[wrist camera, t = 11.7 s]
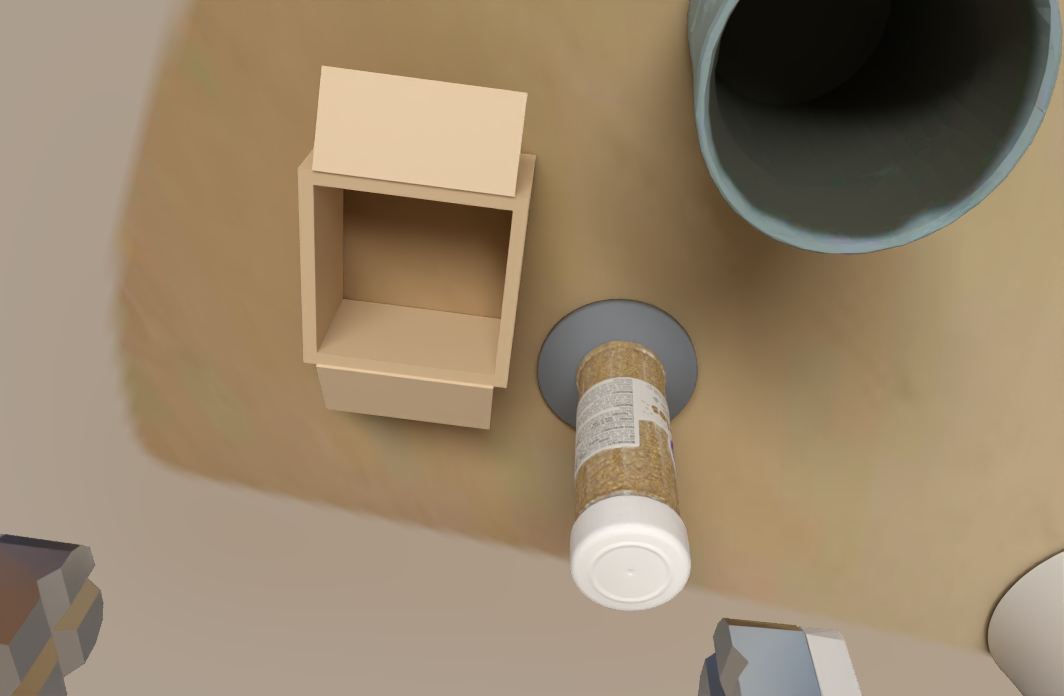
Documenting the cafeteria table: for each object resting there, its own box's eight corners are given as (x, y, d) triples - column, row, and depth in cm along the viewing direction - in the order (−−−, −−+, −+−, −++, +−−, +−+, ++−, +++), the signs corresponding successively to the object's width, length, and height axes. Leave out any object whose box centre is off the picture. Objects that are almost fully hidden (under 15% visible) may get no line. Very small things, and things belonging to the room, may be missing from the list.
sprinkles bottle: (675, 398, 44) (705, 603, 33) (590, 420, 45) (590, 626, 34) (651, 325, 42) (674, 517, 31) (562, 349, 43) (552, 544, 32)
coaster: (712, 310, 42) (713, 316, 42) (678, 439, 47) (679, 446, 46) (548, 289, 42) (548, 295, 42) (529, 420, 46) (529, 427, 46)
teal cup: (766, 178, 39) (830, 313, 29) (611, 8, 35) (620, 92, 25) (974, 8, 34) (1135, 94, 24) (820, -204, 31) (933, -205, 21)
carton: (546, 71, 37) (540, 107, 32) (507, 390, 45) (498, 452, 41) (328, 42, 37) (293, 75, 32) (331, 368, 45) (304, 428, 41)
